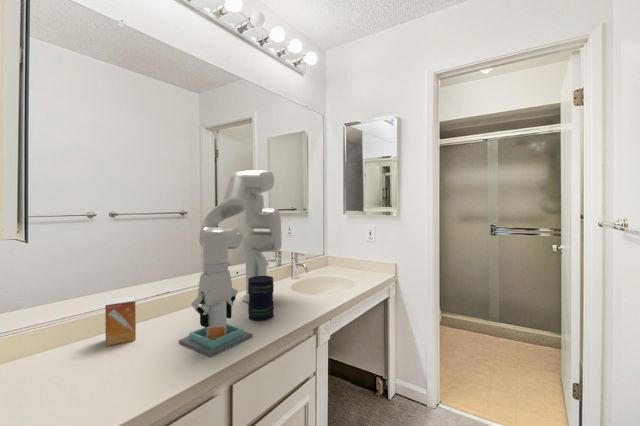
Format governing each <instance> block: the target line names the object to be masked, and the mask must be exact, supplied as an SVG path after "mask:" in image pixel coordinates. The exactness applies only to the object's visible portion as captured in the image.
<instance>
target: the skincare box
mask: <svg viewBox="0 0 640 426" xmlns="http://www.w3.org/2000/svg"><path fill="white" fill-rule="evenodd" d="M226 305H227V301H226V300H223V301H220V302H219V303H218V304H216V305H213V306H210V308H209V310H208V312H207V314H208V317H209V326H208V327H207V338H208V339H217V338H220V337H222V336H224V335H226V323H227V318H226Z"/></svg>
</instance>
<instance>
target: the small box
mask: <svg viewBox="0 0 640 426" xmlns="http://www.w3.org/2000/svg"><path fill="white" fill-rule="evenodd" d="M104 307H105V311H104V313H105V315H104V316H105V320H104V321H105V323H104V324H105V328H104V329H105V332H104V333H105V347H108V346H112V345H118V344H123V343H128V342H133V341H136V339H137V338H136V336H137V334H136V333H137V332H136V330H137V329H136V327H137V324H136V322H137V320H136V318H137V317H136V314H137V313H136V311H137V310H136V296H135V295H133V296H127V297H117V298H113V299H106V300H105V306H104Z"/></svg>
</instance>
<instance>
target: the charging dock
mask: <svg viewBox="0 0 640 426" xmlns="http://www.w3.org/2000/svg"><path fill="white" fill-rule="evenodd" d="M188 333H189V334H188V336H186V337H183V338H180V339H179V340H178V342H179V343H178V344H180V345H182V346H184V347H187V348H189V349H192V350H194V351H195V352H199V353H201V354H203V355H205V356H207V357H210V358H212V357H214V356H217V355H218V354H220V353H222V352H225V351H226V350H229V349H230V348H233V347H235V346H237V345H239V344H241V343H243V342H245V341H247V340H250V339H252V338H253V333H252V332H248V331H244V329H243V328H241V327H239V326H236V325H233V324H229V323H228V322H226V335H224V336H222V337H220V338H217V339H208V338H207V328H206V327H202V328H199V329H196V330H194V331H191V332H188Z"/></svg>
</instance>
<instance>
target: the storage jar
mask: <svg viewBox="0 0 640 426" xmlns="http://www.w3.org/2000/svg"><path fill="white" fill-rule="evenodd" d="M248 282H249V283H248V294H249V302H247V303H248V304H247V312H248V319H249V320H250V321H253V322H265V321H268V320H271V319H272V318H273V317H275V316H274V313H275V311H274V310H275V307H274V306H275V302H274V288H275V285H274V277H273V276H270V275H267V276H255V277H251V278H249V279H248Z"/></svg>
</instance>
